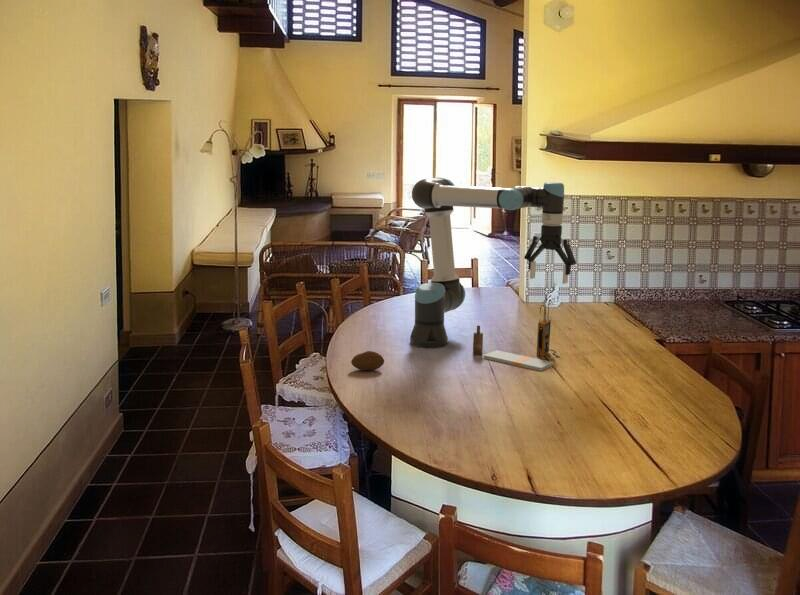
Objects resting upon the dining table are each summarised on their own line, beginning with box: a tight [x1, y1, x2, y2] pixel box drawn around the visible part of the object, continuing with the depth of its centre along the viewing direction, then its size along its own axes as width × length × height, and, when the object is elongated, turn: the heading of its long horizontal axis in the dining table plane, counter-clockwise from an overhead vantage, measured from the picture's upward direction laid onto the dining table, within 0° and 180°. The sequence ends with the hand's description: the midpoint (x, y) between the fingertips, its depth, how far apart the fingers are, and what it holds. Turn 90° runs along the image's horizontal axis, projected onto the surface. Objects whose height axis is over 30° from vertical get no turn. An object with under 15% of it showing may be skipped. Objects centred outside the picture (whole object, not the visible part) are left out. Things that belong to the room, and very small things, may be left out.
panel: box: [483, 349, 554, 372], centre depth 285 cm, size 24×9×1 cm, turn 52°
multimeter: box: [536, 301, 563, 361], centre depth 292 cm, size 15×10×20 cm
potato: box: [350, 350, 385, 371], centre depth 272 cm, size 7×12×7 cm, turn 101°
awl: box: [472, 324, 484, 356], centre depth 294 cm, size 4×4×11 cm
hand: (548, 280), depth 291 cm, fingers open, 13 cm apart
